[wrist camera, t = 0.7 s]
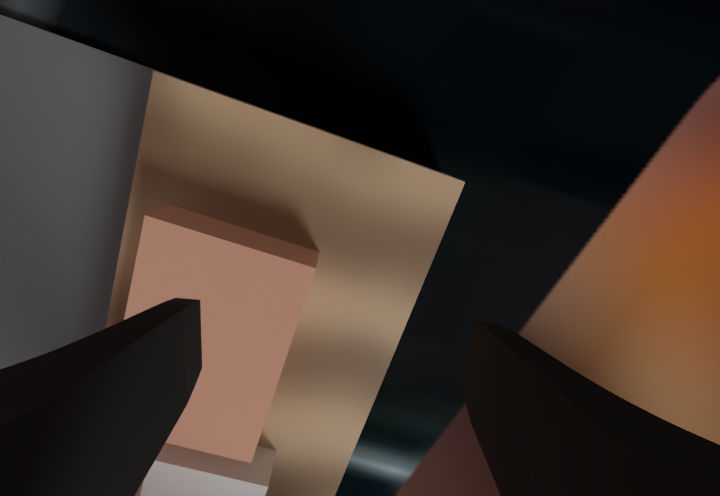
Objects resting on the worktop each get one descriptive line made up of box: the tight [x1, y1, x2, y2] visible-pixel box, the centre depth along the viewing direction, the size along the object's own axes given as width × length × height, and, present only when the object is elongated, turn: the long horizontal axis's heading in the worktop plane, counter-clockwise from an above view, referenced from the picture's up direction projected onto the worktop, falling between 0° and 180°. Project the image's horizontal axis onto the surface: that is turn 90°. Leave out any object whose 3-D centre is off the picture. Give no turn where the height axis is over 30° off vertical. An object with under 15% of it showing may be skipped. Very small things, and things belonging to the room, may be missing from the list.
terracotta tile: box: [124, 205, 320, 463], centre depth 16 cm, size 9×6×2 cm, turn 161°
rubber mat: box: [0, 14, 182, 369], centre depth 19 cm, size 20×12×1 cm, turn 161°
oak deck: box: [105, 71, 465, 496], centre depth 19 cm, size 20×12×4 cm, turn 161°
